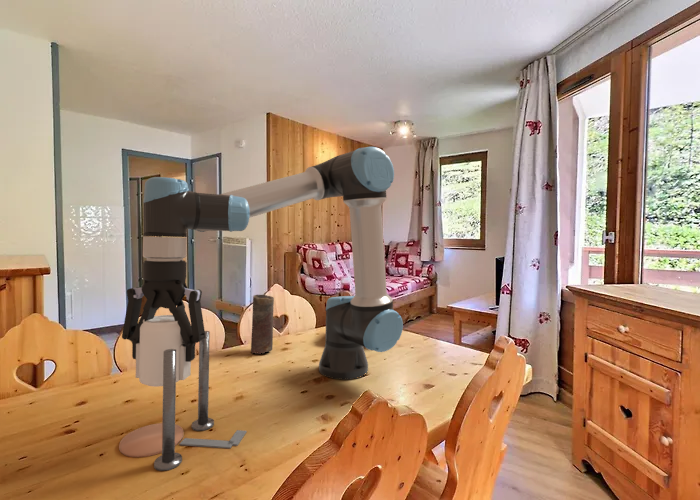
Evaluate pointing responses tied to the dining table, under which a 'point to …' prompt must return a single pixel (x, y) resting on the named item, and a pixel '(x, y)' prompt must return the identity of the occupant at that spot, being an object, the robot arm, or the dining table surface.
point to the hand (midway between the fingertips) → (163, 376)
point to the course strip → (215, 441)
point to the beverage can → (158, 348)
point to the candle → (262, 324)
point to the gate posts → (169, 396)
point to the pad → (146, 441)
